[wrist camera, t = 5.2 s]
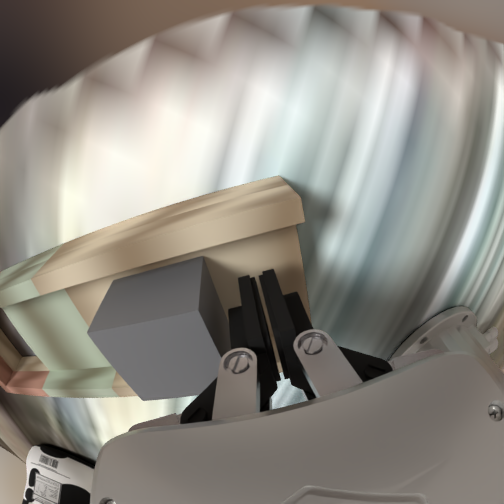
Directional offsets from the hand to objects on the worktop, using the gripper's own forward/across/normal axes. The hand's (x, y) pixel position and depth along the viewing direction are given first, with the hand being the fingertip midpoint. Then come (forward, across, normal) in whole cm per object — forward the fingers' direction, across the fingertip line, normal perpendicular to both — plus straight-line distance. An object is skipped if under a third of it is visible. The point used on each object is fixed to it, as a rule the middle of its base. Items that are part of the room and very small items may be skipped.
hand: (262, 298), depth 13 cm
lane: (+3, +12, 0) cm, 12 cm away
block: (+1, +5, 0) cm, 5 cm away
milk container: (+4, +44, +34) cm, 56 cm away
